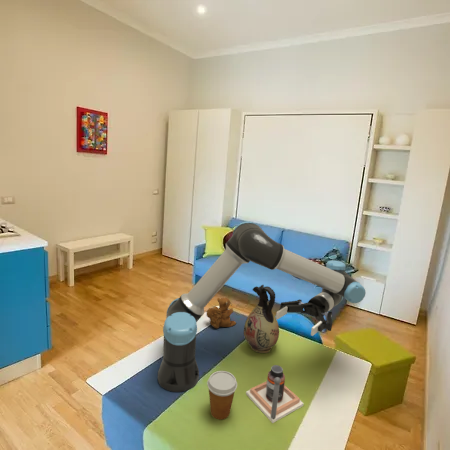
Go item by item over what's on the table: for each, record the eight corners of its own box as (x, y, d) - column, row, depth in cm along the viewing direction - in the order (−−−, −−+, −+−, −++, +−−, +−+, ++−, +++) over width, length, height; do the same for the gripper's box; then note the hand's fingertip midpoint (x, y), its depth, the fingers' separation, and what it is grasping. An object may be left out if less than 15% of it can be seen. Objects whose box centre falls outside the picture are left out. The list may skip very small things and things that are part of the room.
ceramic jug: (235, 342, 138) (240, 280, 131) (262, 333, 146) (268, 274, 140) (259, 365, 124) (266, 296, 118) (287, 353, 132) (295, 289, 126)
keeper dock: (272, 423, 97) (277, 381, 94) (245, 393, 109) (249, 355, 105) (303, 405, 105) (308, 366, 102) (275, 380, 116) (279, 343, 113)
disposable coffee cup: (224, 429, 94) (227, 396, 91) (199, 414, 99) (201, 382, 96) (240, 409, 102) (242, 377, 99) (216, 396, 107) (218, 365, 104)
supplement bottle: (275, 388, 111) (278, 361, 108) (286, 400, 106) (290, 371, 103) (261, 393, 108) (265, 365, 105) (272, 406, 103) (275, 376, 100)
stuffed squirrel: (237, 324, 153) (239, 300, 150) (215, 333, 144) (217, 308, 141) (224, 316, 160) (226, 292, 157) (202, 324, 151) (203, 299, 148)
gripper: (350, 326, 115) (326, 349, 99) (291, 301, 130) (262, 318, 115) (354, 307, 113) (330, 328, 97) (293, 285, 129) (265, 300, 113)
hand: (293, 323), depth 106 cm, fingers open, 13 cm apart
